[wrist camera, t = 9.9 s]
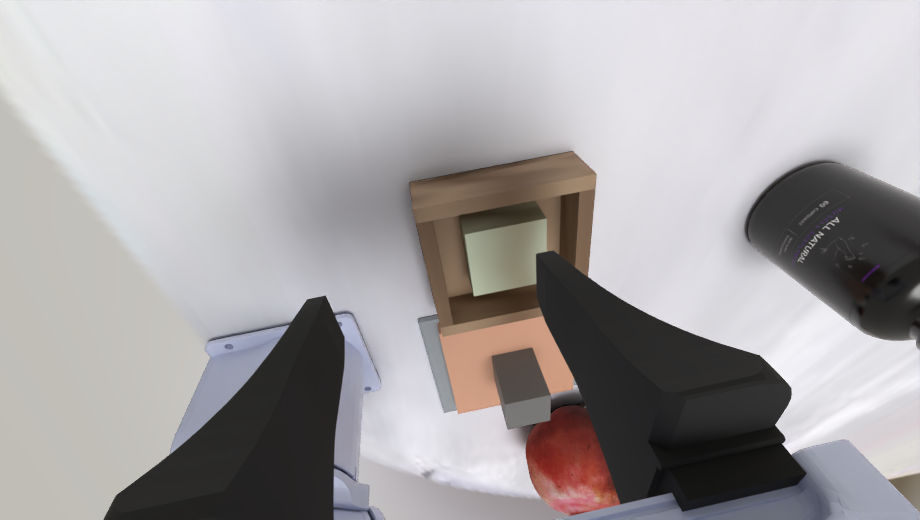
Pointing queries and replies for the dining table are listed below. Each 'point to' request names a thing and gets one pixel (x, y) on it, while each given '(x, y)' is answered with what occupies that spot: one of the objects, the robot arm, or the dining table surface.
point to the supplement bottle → (847, 245)
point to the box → (501, 235)
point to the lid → (507, 370)
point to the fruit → (569, 463)
